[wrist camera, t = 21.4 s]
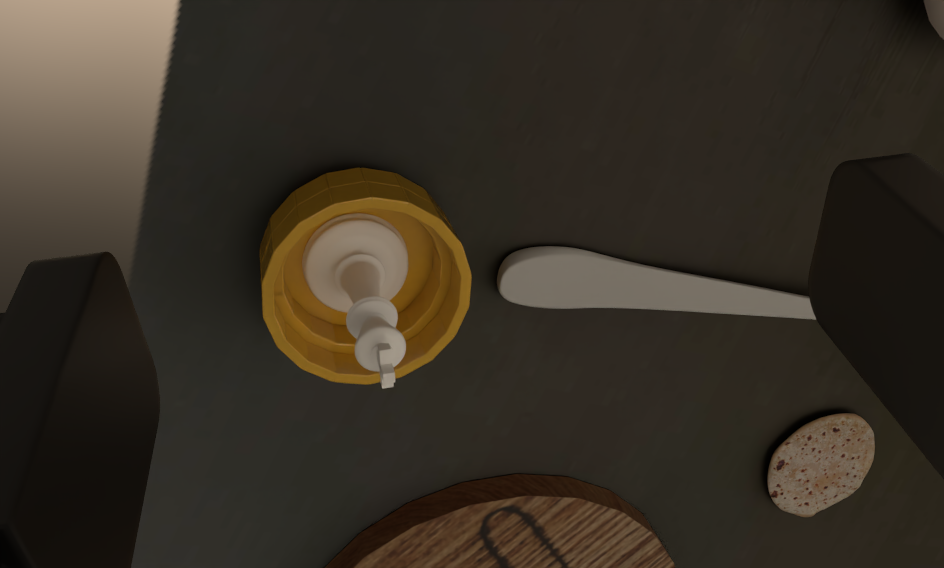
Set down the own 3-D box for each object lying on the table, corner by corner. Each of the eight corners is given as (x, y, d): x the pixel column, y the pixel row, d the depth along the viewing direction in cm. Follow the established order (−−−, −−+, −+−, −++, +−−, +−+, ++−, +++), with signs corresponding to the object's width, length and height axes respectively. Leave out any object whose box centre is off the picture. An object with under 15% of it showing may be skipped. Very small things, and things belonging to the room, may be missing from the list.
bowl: (217, 269, 39) (216, 316, 35) (347, 121, 38) (359, 153, 34) (364, 365, 44) (377, 417, 40) (486, 237, 42) (512, 277, 38)
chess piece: (308, 314, 41) (328, 442, 32) (296, 219, 38) (314, 329, 30) (410, 300, 42) (456, 421, 33) (404, 207, 39) (452, 310, 31)
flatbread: (767, 425, 52) (775, 435, 51) (876, 397, 54) (886, 406, 53) (759, 522, 56) (767, 532, 55) (861, 494, 57) (870, 504, 57)
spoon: (1053, 256, 52) (1090, 274, 49) (997, 368, 55) (1029, 390, 52) (504, 188, 42) (517, 206, 40) (473, 328, 45) (484, 352, 43)
